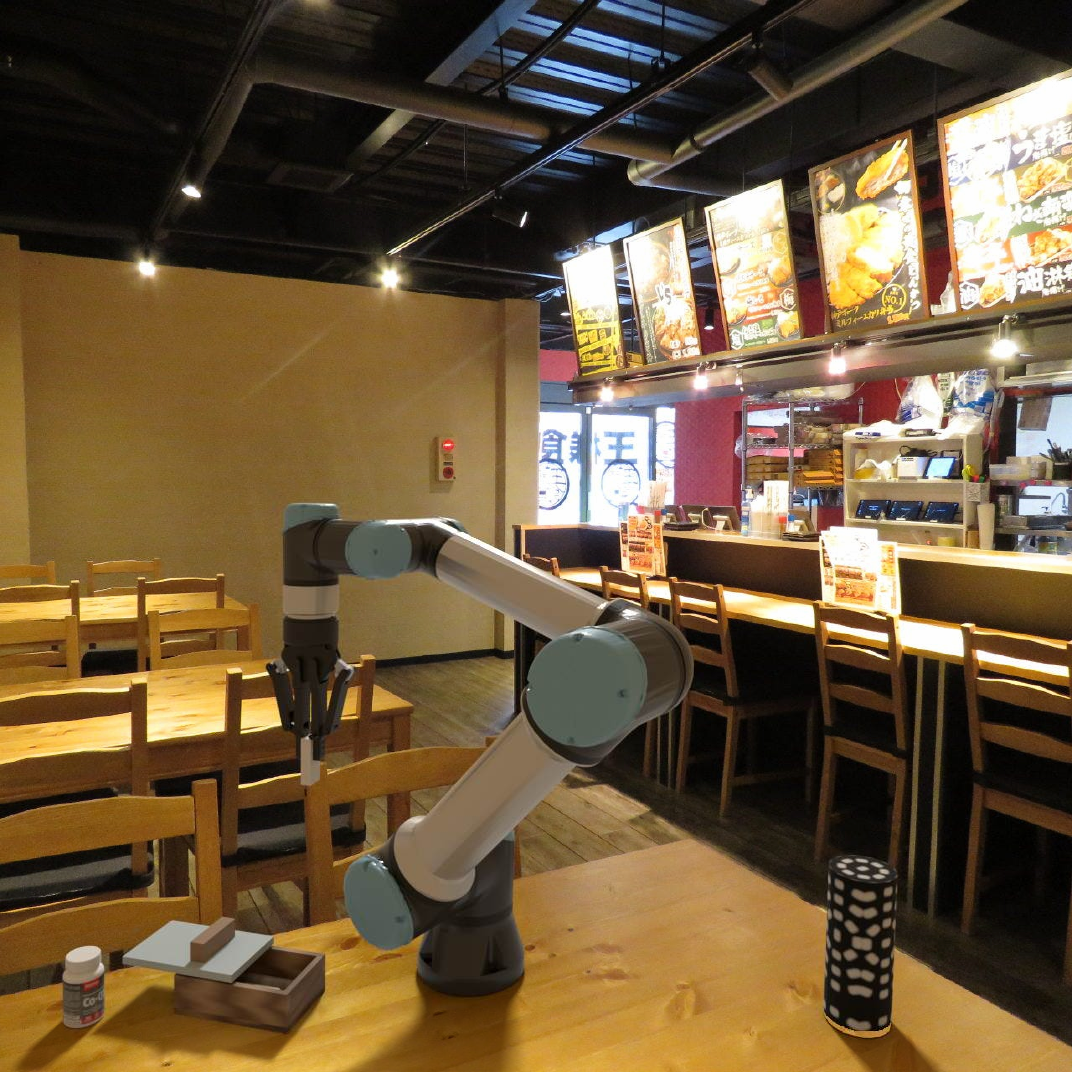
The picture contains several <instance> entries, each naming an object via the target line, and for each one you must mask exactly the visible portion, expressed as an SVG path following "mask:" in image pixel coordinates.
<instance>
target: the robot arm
mask: <svg viewBox="0 0 1072 1072" xmlns="http://www.w3.org/2000/svg"><path fill="white" fill-rule="evenodd" d="M283 511H284V512H283V522H282V524H283V526H282V532H281V536H282V578H283V579H282V583H283V584H282V612H283V614H286V615H285V616H284V617H283V619H282V640H283V649H282V650H281V653H280V657H278V658H276V659H275V660H273V661H270V662H267V663H266V664H265V670H266V673H268V676H269V677H270V679H271V681H272V682H271V683H272V686H273V690H274V691H273V692H274V695H275V699H276V700H275V701H276V705H277V710H278V713H279V718H280V723H281V728H282V730H283V732H289V733H291V734H292V735H294V737H295V757H296V759H297V760H300V785H302V786H308V787H309V786H310V787H311V786H313V785H314V784H316V783H317V782H318V781H320V780H321V761H322V760H323V759H325V757H326V737H327V736H330V735H331V734H333V733H335V732H337V731H338V730H339V729H340V725H341V720H342V716H343V711H344V708H345V703H346V698H347V694H348V690H349V687H350V682H351V680H352V679H353V677H354V676H355V674H356V673H357V667H356V665H353V664H352V665H349V664H348V663H346V662H345V661H344V660H342V654H341V652H340V651H339V647H338V646H339V645H338V644H339V640H340V639H339V638H340V637H339V634H340V633H339V631H340V628H339V627H340V625H339V624H340V622H339V621H340V618H339V617H338V615H337V614H336V613H337V612H338V611H339V609H340V607H339V605H340V604H339V603H340V595H339V594H340V591H339V590H340V589H339V588H340V576H347V577H356V578H364V579H366V580H372V581H374V580H392V579H395V578H397V577H398V576H399V575H400V574H408V573H424V574H427V575H428V576H429V577H432V578H434V579H436V580H438V581H440V582H442V583H444V584H446V585H449V586H450V587H452V588H454V589H456V590H457V591H459V592H461V593H463V594H465V595H467V596H469V597H471V598H473V599H474V600H476V601H479V602H480V603H483V604H484V605H486V606H488V607H489V608H492V609H494V610H496V611H497V612H500V613H502V614H503V615H505V616H507V617H509V618H511V619H512V620H515V621H517V622H518V623H521V624H523V625H524V626H525V627H528V628H530V629H531V630H534V631H535V632H537V633H539V634H542V635H543V636H545V637H547V638H548V639H550V640H551V641H549V642H548V643H547V644H546V645H544V646H543V647H542V648H541V650H539V652H538V653H537V655H536V656H535V658H534V660H533V661H532V663H531V665H530V667H529V670H528V674H527V678H526V679H527V681H528V684H526V686H525V687H524V688H523V690H522V692H521V695H520V708H521V709H520V710H521V712H519V714H518V715H517V716H516V717H515V718H514V719H513V720H512V721H511V723H510V724H508V726H507V727H506V728H505V729H504V730H503V732H501V733H500V734H499V736H497V738H495V740H494V741H493V742H492V744H490V745H489V746H488V748H487V749H485V751H484V752H483V753H482V754H481V755H480V756H479V757H478V758H477V759H476V760H475V762H474V763H473V764H472V765H471V766H470V767H469V769H467V771H466V772H465V773H464V774H463V775H462V776H461V777H460V778H459V779H458V780H457V782H456V783H454V785H453V786H452V787H451V788H450V789H449V791H447V793H445V795H444V796H443V797H442V798H441V799H440V800H439V801H438V802H437V804H436V805H434V806H433V807H432V809H431V810H430V811H429V812H428V813H427V814H426V815H416V816H413V817H410V818H409V819H407V820H405V821H404V822H403V823H402V824H401V825H400V826H399V827H398V828H397V829H396V831H395V832H393V834H392V835H391V836H390V837H389V838H388V839H387V840H386V841H385V843H384V844H382V845H381V846H380V847H379V848H377V849H376V850H375V851H373V852H371V853H368V854H367V853H365V854H363V855H361V856H360V857H359V858H358V859H356V860H355V861H353V862H351V864H350V865H349V867H348V868H347V870H346V872H345V876H344V879H343V894H344V904H345V908H346V910H347V913H348V917H349V918H350V920H351V923H352V925H353V926H354V928H355V929H356V931H357V933H358V935H360V936H361V937H362V939H363V940H364V941H366V943H368V944H369V945H371V946H373V947H375V948H377V949H378V950H380V951H387V952H388V951H393V950H397V949H398V948H401V947H403V946H405V947H406V946H408V945H409V944H411V943H412V942H413V941H414V940H415V939H417V938H418V937H420V936H422V938H421V940H420V941H421V942H420V944H419V947H418V951H417V973H418V976H419V977H420V979H421V980H422V981H423V982H424V983H425V984H426V985H427V986H428V987H430V988H433V989H434V990H437V991H438V992H441V993H445V994H449V995H455V996H463V997H464V996H465V997H467V996H469V997H471V996H472V997H473V996H483V995H488V994H493V993H497V992H500V991H502V990H504V989H507V988H508V987H510V986H512V985H513V984H515V983H516V982H517V981H518V980H519V979H520V978H521V976H522V974H523V973H524V970H525V947H524V944H523V941H522V937H521V934H520V932H519V929H518V926H517V922H516V918H515V916H514V876H515V875H514V873H515V872H514V871H515V870H514V869H515V867H514V866H515V841H516V836H515V828H516V826H517V825H519V824H520V823H521V822H522V820H524V818H526V817H527V815H529V814H530V813H531V812H532V811H533V809H534V808H536V806H538V805H539V804H540V802H541V801H543V800H544V799H545V798H546V796H547V795H549V793H551V792H552V790H554V789H555V788H556V787H557V786H558V784H559V783H561V782H562V780H563V779H565V778H566V777H567V775H569V773H570V772H572V771H573V770H574V768H575V767H581V768H588V767H594V766H596V765H598V764H599V763H600V762H601V761H603V759H604V758H606V756H608V754H610V753H611V752H612V751H613V750H614V749H615V748H616V746H618V745H619V744H620V743H621V742H622V741H623V740H624V739H625V738H626V737H627V736H628V735H629V734H631V732H632V731H634V730H635V729H637V727H638V726H640V725H642V724H644V723H646V722H649V721H652V720H654V719H655V718H658V717H660V716H663V715H665V714H667V713H669V712H670V711H672V710H673V709H674V708H676V707H678V706H679V704H681V702H682V701H683V699H684V698H685V697H686V696H687V694H688V692H689V690H690V688H691V685H692V683H693V682H692V681H693V679H694V667H695V662H694V661H695V660H694V657H693V653H692V648H691V646H690V644H689V642H688V640H687V639H686V637H685V636H684V634H683V633H682V631H681V630H679V628H678V627H676V626H675V625H674V624H673V623H672V622H670V621H669V620H667V619H666V618H663V617H662V616H660V615H658V614H656V613H655V612H651V611H649V610H647V609H645V608H644V607H642V606H639V605H637V604H634V603H633V602H630V601H628V600H626V599H623V598H620V597H619V598H614V599H612V600H611V601H609V600H607V599H604V598H603V597H600V596H598V595H596V594H594V593H592V592H590V591H588V590H585V589H583V588H581V587H579V586H577V585H574V584H573V583H571V582H568V581H567V580H564V579H562V578H560V577H559V576H558V577H557V576H555V575H553V574H552V573H551V574H550V573H549V572H547V571H545V570H543V569H540V568H538V567H536V566H534V565H532V564H530V563H528V562H527V561H524V560H521V559H520V558H517V557H515V556H513V555H511V554H509V553H506V552H504V551H502V550H500V549H498V548H496V547H494V546H492V545H489V544H487V543H486V542H483V541H481V540H479V539H476V538H474V537H473V536H470V535H469V532H468V531H467V529H466V528H465V526H464V525H463V523H462V522H460V521H458V520H456V519H453V518H447V517H446V518H445V517H443V516H442V517H441V516H435V517H434V516H432V517H431V516H430V517H423V518H422V517H420V518H401V519H400V518H393V519H389V518H388V519H342V517H341V516H340V508H339V506H338V505H337V504H335V503H329V502H328V503H327V502H326V503H324V502H294V503H293V502H292V503H289V504H288V505H286V507H285V508H284V510H283ZM334 670H335V672H334ZM288 671H289V672H290V674H291V677H292V680H290V676H289V674H288ZM333 672H334V678H335V680H334V682H333V685H332V689H331V694H330V698H329V701H328V687H329V683H330V676H331V674H332V673H333ZM291 681H292V683H291Z"/></svg>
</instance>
